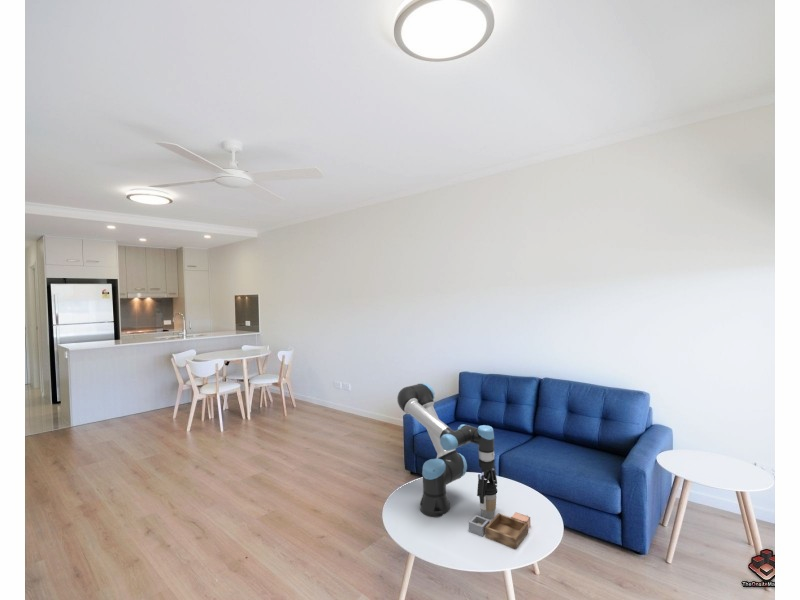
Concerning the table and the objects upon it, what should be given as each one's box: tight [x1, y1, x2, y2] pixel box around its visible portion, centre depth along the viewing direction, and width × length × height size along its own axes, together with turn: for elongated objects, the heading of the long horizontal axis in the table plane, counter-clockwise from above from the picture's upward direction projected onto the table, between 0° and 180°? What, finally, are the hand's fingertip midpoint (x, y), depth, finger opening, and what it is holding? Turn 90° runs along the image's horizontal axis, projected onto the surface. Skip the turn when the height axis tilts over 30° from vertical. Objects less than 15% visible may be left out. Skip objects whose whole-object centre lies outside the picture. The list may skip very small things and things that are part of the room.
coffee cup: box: [478, 482, 498, 520], centre depth 187 cm, size 9×9×15 cm
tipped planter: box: [510, 511, 531, 530], centre depth 178 cm, size 7×5×5 cm
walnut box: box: [484, 513, 529, 550], centre depth 172 cm, size 14×14×5 cm
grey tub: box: [468, 514, 491, 537], centre depth 176 cm, size 7×7×5 cm
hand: (487, 504), depth 187 cm, fingers closed on coffee cup, 9 cm apart
